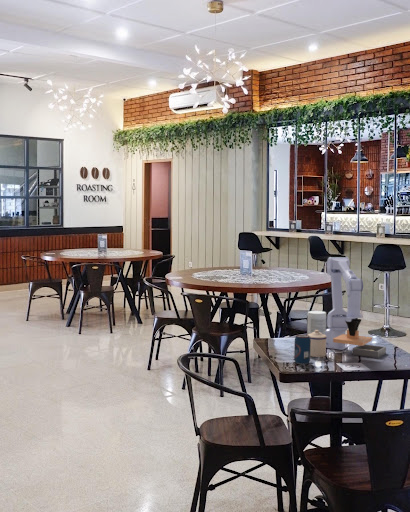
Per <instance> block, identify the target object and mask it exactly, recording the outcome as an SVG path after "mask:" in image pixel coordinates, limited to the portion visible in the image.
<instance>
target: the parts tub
mask: <svg viewBox="0 0 410 512" xmlns="http://www.w3.org/2000/svg"><path fill="white" fill-rule="evenodd" d="M385 354H387V346H381V345H372V344H365V345H363V346H360V345H355V346H354V347H352V355H353V356H359V357H367V358H372V359H373V358H374V359H379V358H381V357H382V356H384V355H385Z"/></svg>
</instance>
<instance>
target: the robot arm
mask: <svg viewBox="0 0 410 512" xmlns="http://www.w3.org/2000/svg"><path fill="white" fill-rule="evenodd" d="M350 265H351V261H350V259H349V257H348V256H345V257H344V256H343V257H336V256H335V257H331V256H329V257H328V258H327V261H326V272H327V275H328V276H329V277H330V282H331V298H332V300H331V301H332V309H331V310H330V311H329V312H328V314H326V327H327V328H326V332H325V335H326V337H327V338H326V348H327V349H333V350H338V351H339V350H341V351H343V350H346V349H348V347H349V346H347V345H346V344H343V343H335V342H333V338H336V337H338V336H340V335H342V334H347V330H349V334H350V336H355V332H356V330H357V331H359V327H360V324H361V323H362V318H363V315H362V313H361V301H362V300H361V299H362V296H361V295H362V292H363V289H364V282H363V279H362V278H358V277H357V275H356V273H355V272H354V270H352V269H350ZM342 279H343V280H344V283H345V289H346V295H347V307H346V308H347V310H345V309H344V307H343V306H344V303H343V288H342V286H343V285H342Z"/></svg>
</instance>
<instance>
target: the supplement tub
mask: <svg viewBox="0 0 410 512" xmlns="http://www.w3.org/2000/svg"><path fill="white" fill-rule="evenodd" d="M306 320H307V325H306V326H307V334H306V335H308V334H311V333H313V332H315V330H319V332H320V333H322V334H324V335H325V332H326V330H327V312H326V311H324V310H322V311H321V310H310V311H307V319H306Z"/></svg>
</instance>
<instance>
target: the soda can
mask: <svg viewBox="0 0 410 512" xmlns="http://www.w3.org/2000/svg"><path fill="white" fill-rule="evenodd" d="M310 348H311V340H310V337H309V335H307V334H296V336H295V338H294V350H293V351H294V352H293V354H294V355H293V356H294V357H293V360H294V363H295V364H298V365H309V363H310V362H311V356H310Z"/></svg>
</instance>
